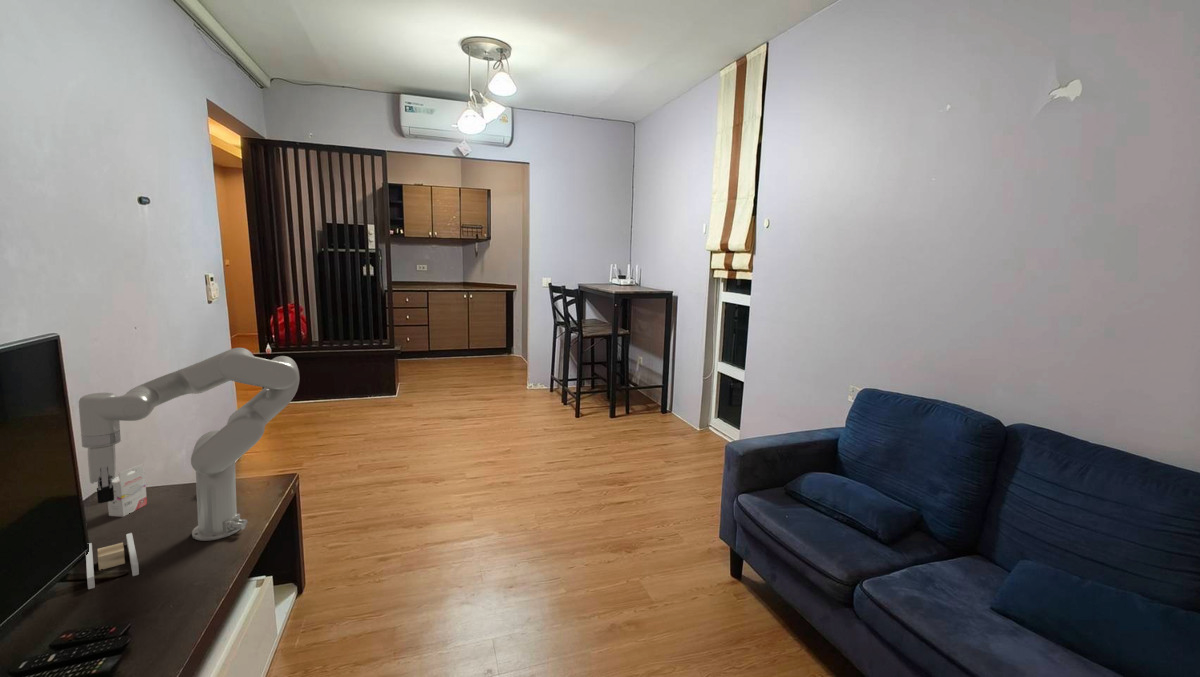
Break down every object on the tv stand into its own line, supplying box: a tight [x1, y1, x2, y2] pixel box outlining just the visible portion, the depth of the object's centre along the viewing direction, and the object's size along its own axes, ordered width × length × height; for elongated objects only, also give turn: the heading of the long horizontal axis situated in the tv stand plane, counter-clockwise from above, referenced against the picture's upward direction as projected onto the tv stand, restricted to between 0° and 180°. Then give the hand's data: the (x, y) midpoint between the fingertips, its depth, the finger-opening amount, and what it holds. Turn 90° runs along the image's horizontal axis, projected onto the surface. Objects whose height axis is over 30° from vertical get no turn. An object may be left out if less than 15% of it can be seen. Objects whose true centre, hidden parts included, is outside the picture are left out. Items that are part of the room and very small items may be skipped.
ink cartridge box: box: [107, 463, 148, 518], centre depth 160 cm, size 9×5×15 cm, turn 179°
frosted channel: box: [85, 532, 140, 590], centre depth 134 cm, size 20×9×3 cm, turn 47°
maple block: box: [97, 542, 126, 571], centre depth 134 cm, size 5×5×4 cm
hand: (106, 500), depth 138 cm, fingers closed
